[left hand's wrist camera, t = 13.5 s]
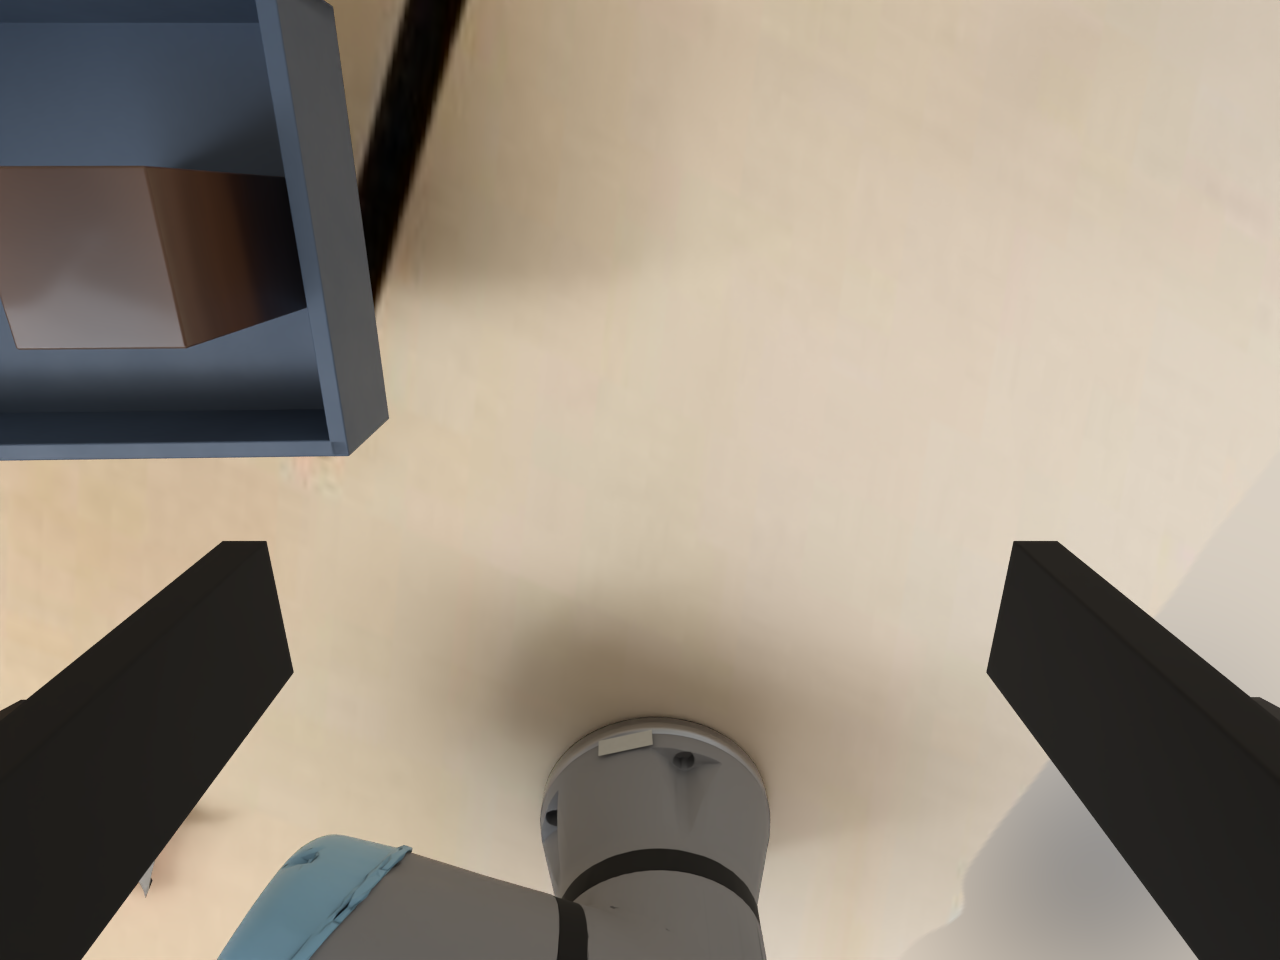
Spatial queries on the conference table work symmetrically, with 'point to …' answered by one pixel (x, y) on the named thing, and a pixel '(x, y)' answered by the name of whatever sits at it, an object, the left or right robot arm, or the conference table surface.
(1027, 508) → the conference table surface
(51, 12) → the pan
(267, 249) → the block
